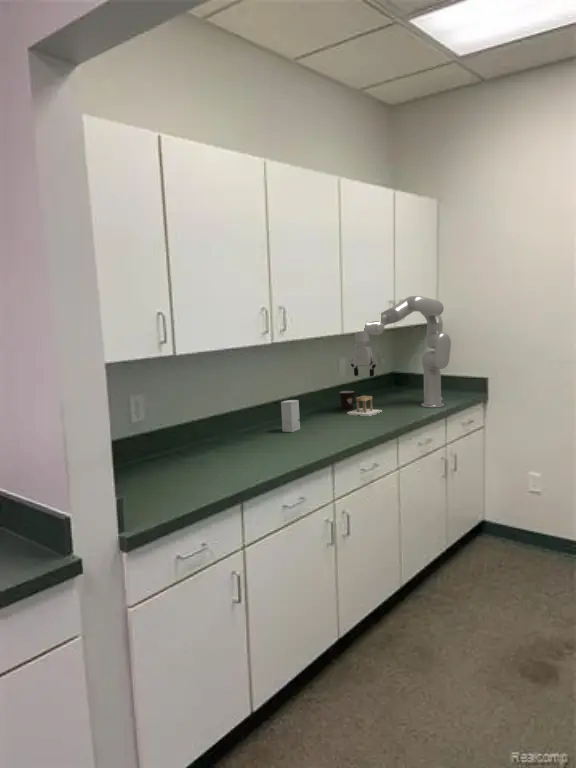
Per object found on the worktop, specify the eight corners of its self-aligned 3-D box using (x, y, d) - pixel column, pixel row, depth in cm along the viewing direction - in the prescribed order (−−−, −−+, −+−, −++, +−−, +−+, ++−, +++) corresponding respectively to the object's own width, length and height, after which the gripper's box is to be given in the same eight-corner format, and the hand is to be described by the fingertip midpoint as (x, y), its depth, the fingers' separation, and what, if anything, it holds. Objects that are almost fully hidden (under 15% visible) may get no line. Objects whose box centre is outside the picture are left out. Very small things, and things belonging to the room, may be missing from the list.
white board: (360, 410, 335) (360, 408, 334) (382, 412, 326) (382, 410, 326) (347, 414, 324) (347, 412, 324) (369, 416, 315) (369, 414, 315)
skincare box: (292, 432, 284) (291, 402, 282) (281, 431, 287) (280, 401, 285) (300, 429, 291) (299, 399, 289) (290, 428, 294) (288, 399, 292)
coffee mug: (339, 410, 338) (339, 393, 336) (340, 407, 346) (339, 391, 345) (360, 410, 336) (359, 392, 335) (360, 407, 345) (359, 390, 343)
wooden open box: (356, 412, 323) (356, 397, 322) (364, 409, 330) (363, 395, 329) (365, 412, 320) (364, 398, 319) (372, 410, 326) (372, 396, 325)
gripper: (345, 345, 322) (347, 376, 325) (373, 345, 312) (374, 377, 314) (352, 344, 328) (354, 374, 331) (380, 344, 318) (381, 375, 320)
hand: (364, 376), depth 322 cm, fingers open, 9 cm apart
